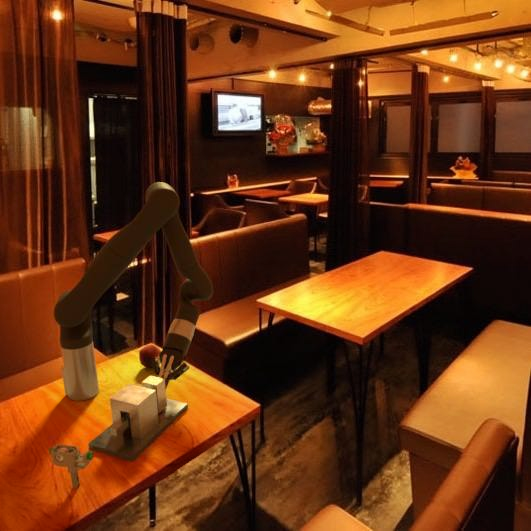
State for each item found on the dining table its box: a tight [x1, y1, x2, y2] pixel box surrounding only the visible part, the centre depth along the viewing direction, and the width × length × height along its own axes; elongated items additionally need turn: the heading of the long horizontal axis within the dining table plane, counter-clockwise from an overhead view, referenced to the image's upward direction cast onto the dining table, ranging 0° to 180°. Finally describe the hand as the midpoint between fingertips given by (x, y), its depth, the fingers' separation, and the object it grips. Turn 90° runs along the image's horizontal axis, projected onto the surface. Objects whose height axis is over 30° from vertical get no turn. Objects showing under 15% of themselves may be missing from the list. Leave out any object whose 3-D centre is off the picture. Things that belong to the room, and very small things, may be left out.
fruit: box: [138, 344, 162, 370], centre depth 171 cm, size 8×8×8 cm
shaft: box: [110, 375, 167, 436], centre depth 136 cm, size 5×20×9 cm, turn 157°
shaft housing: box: [87, 383, 189, 463], centre depth 137 cm, size 14×26×12 cm, turn 157°
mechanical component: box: [48, 443, 94, 489], centre depth 115 cm, size 3×10×10 cm, turn 78°
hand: (159, 391), depth 146 cm, fingers closed
